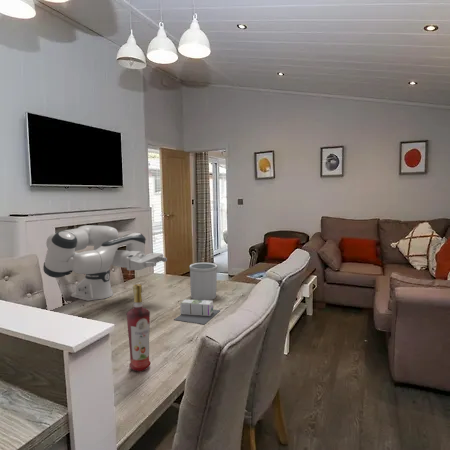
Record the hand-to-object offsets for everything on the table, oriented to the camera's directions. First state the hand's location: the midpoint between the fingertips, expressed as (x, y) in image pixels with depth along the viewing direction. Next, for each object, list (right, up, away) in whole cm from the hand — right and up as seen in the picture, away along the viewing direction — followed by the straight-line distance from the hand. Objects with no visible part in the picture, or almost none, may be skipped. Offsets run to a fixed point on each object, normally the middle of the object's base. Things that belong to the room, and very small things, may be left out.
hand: (160, 262), depth 171 cm
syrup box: (+11, -20, -5) cm, 24 cm away
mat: (+19, -24, -8) cm, 31 cm away
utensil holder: (+20, -21, +20) cm, 35 cm away
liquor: (+3, -29, -55) cm, 62 cm away
